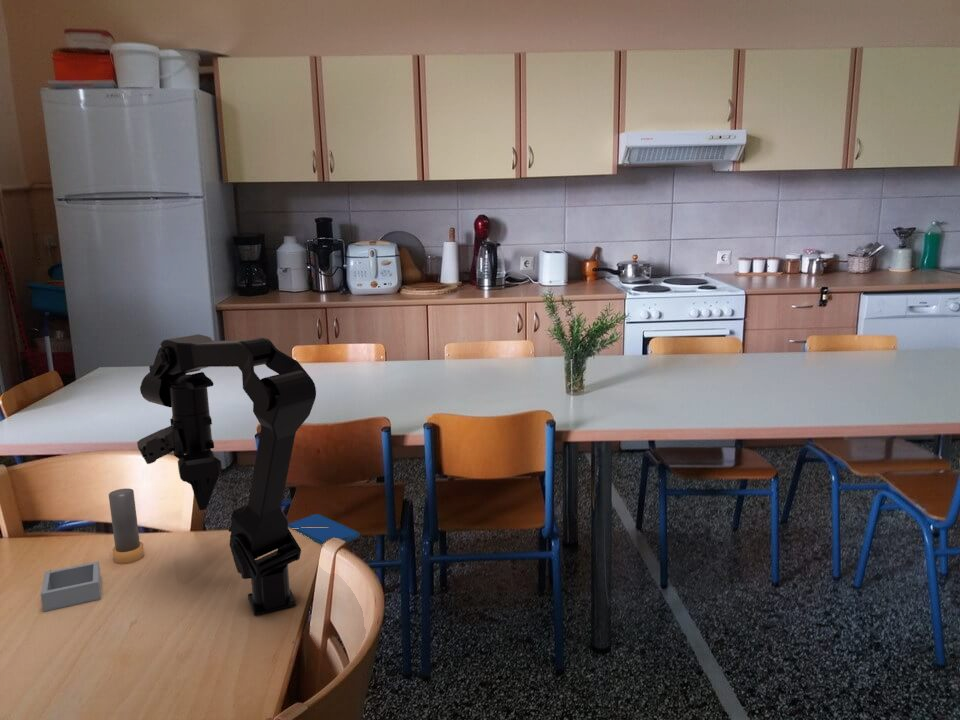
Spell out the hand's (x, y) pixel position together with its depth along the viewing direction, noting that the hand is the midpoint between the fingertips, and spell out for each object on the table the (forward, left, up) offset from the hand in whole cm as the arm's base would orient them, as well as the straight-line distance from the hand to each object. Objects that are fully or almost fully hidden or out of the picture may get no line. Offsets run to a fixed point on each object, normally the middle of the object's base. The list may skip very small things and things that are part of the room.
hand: (199, 499), depth 125 cm
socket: (+2, +21, -13) cm, 24 cm away
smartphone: (+6, -22, -14) cm, 27 cm away
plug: (+12, +12, -13) cm, 21 cm away
